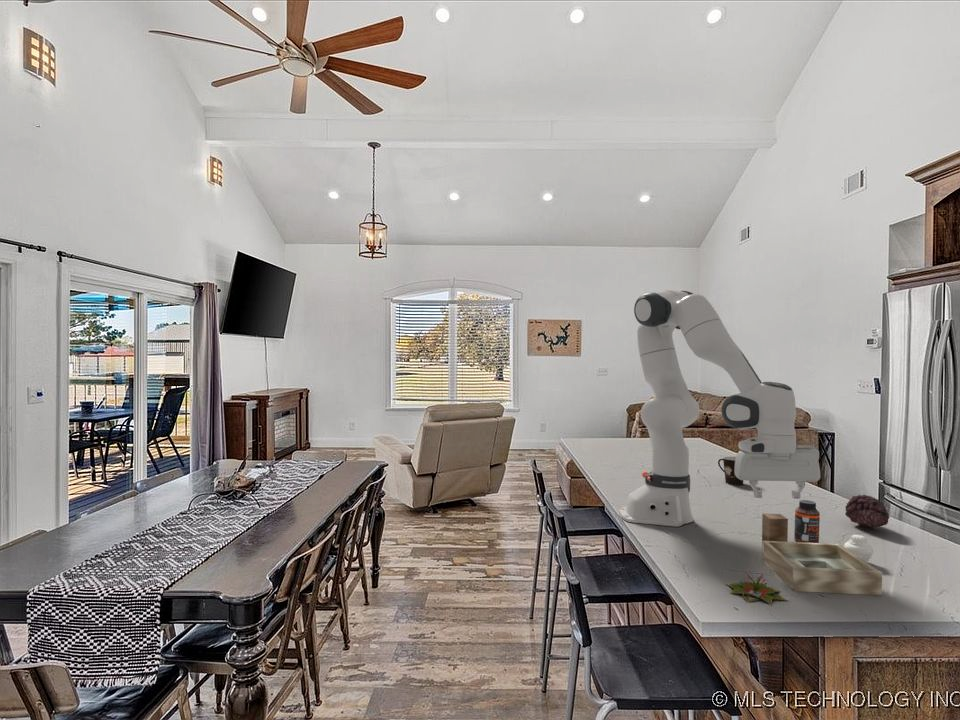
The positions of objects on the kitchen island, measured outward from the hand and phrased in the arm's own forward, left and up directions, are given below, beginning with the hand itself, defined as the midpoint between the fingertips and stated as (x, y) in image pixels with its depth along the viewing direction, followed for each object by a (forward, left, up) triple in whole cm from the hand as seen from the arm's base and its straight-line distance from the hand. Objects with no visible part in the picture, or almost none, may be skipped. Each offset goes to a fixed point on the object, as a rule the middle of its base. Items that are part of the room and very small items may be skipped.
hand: (776, 497), depth 144 cm
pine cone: (+37, +26, -15) cm, 48 cm away
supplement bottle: (+13, +11, -15) cm, 23 cm away
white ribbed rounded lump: (+19, -3, -15) cm, 24 cm away
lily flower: (-14, -25, -16) cm, 33 cm away
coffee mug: (+17, +82, -15) cm, 85 cm away
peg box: (+4, -14, -15) cm, 21 cm away
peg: (0, 0, -15) cm, 15 cm away
